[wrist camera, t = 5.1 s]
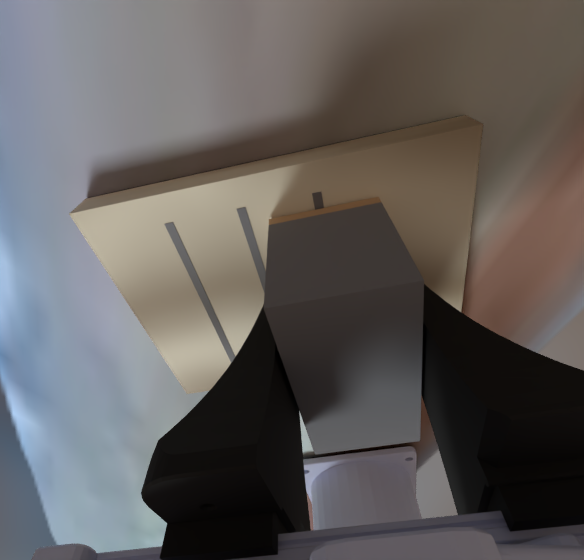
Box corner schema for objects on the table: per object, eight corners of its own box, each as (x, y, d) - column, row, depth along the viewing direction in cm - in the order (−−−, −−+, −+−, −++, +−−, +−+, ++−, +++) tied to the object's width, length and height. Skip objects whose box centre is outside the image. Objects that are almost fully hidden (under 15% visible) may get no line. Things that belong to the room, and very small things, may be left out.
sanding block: (388, 343, 15) (419, 441, 12) (307, 356, 16) (315, 454, 12) (378, 196, 11) (424, 280, 8) (268, 219, 11) (263, 308, 8)
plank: (446, 334, 17) (456, 353, 16) (191, 374, 18) (186, 394, 17) (465, 114, 11) (483, 124, 10) (85, 198, 12) (68, 214, 11)
